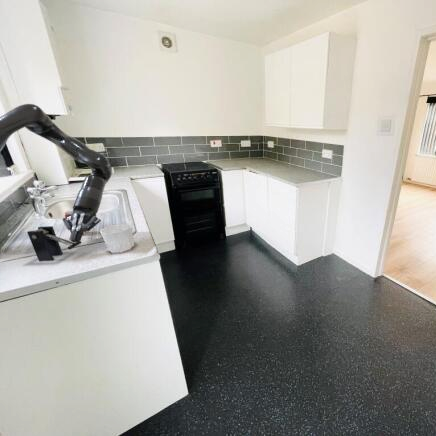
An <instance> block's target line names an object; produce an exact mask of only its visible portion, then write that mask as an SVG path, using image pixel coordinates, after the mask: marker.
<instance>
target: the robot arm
mask: <svg viewBox="0 0 436 436" xmlns="http://www.w3.org/2000/svg"><path fill="white" fill-rule="evenodd" d="M24 128H25V129H26V130H28V131H29V132H30V133H33V134H35V135H37V136H38V137H41V138H43V139H45V140H47V141H49V142H50V143H52V144H53V145H55V146H57V147H58V149H60V150H62V151H63V152H64V153H66V154H67V155H69V157H71V158H73V159H74V160H75V161H77V162H79V163H81V164H86V165H87V166H88V167H89V169H90V170H91V174H88V175H86V176H85V178H84V179H83V182H82V184H81V187H80V189H79V191H78V193H77V195H76V198H75V200H74V203H73V206H72V210H73V212H72V213H71V216H70V217H68V218H65V217H63V218H62V222H63V224H64V226H65V227H66V230H68V231H69V232H70V231H72V234H71V233H70V237H69V241H70V242H73V243H76V242H79V241H81V240H82V237H83V235H82V234H83V233H84V232H85V231H86V232H90V231H91V230H92V229H94V228H95V227H96V226H97V225H98V224H99V223H100V222H101V221H102V220H101V219H100V218H98V216H97V213H98V212H99V209H100V206H101V202H102V199H103V194H104V191H105V188H106V185H107V183H109V180H110V179H111V177H112V174H113V167H112V165H111V163H110V161H109V159H108V158H107V157H106V156H105V155H104V154H102V153H100V152H98V151H96V150H95V149H92V148H90V147H89V146H88V145H86V144H85V143H83V142H82V141H80V140H79V139H77V138H75V137H74V136H71V135H69V134H67V133H66V132H64V131H63V130H62V129H61V128H60V127H58V125H56V123H54V121H53V120H52V119H51V117H50V116H49V115H48V114H47V113H46V111H44V110H43V109H42V108H41V107H40V106H39V105H37V104H33V103H24V104H21V105H18V106H16V107H14V108H12V109H11V110H9V111H8V112H6V113H4V114H3V115H1V116H0V152H1V151H2V150H3V149H4V147H5V145H6V144H7V142H8V140H9V138H10V137H11V136H12V135H14V134H15V133H16V132H18V131H20V130H22V129H24ZM72 220H73V222H72ZM76 228H77V229H76Z"/></svg>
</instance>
